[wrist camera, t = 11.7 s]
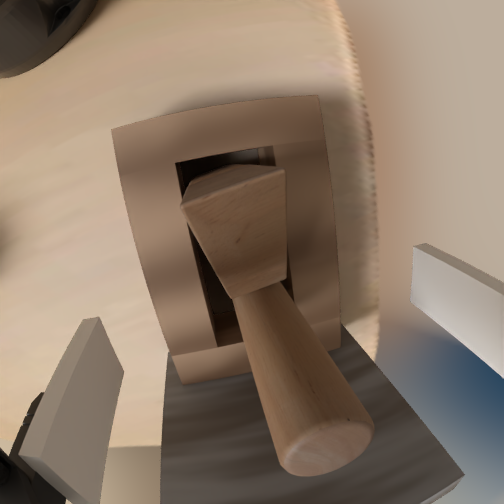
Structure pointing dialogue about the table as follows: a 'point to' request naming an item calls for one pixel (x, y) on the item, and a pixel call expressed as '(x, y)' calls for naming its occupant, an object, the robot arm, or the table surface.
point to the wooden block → (275, 319)
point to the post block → (228, 330)
